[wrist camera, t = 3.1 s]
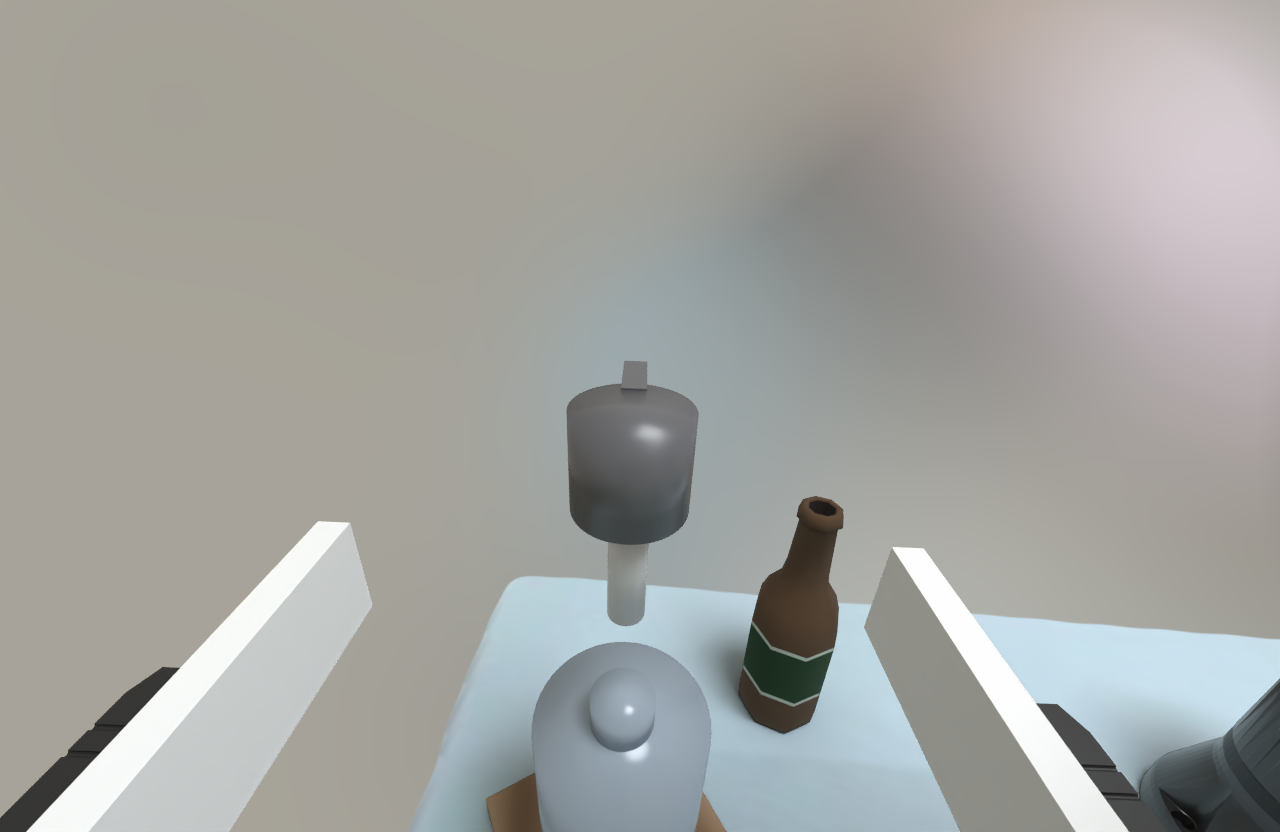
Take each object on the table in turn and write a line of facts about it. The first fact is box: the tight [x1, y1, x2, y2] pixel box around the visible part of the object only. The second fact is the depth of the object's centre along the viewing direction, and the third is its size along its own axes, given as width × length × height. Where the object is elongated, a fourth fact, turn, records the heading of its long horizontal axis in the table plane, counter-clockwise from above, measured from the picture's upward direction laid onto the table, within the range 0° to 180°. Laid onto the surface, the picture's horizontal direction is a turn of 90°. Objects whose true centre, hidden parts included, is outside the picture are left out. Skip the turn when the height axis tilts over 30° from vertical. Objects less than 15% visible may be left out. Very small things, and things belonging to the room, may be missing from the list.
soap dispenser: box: [532, 642, 711, 832], centre depth 34 cm, size 11×11×18 cm
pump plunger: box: [567, 361, 698, 626], centre depth 25 cm, size 6×8×12 cm
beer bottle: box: [739, 496, 843, 733], centre depth 45 cm, size 8×8×24 cm
